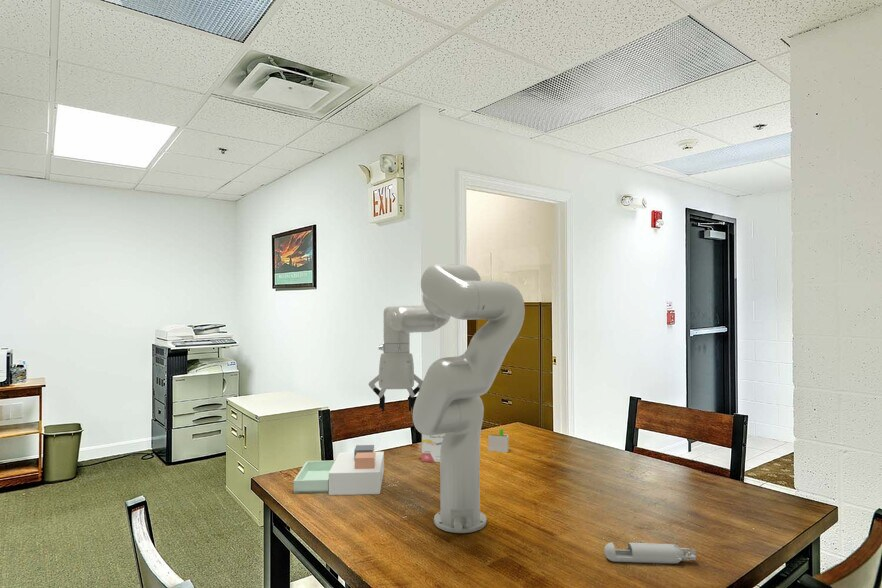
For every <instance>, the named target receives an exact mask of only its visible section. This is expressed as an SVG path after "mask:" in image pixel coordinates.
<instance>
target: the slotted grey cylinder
mask: <svg viewBox="0 0 882 588" xmlns="http://www.w3.org/2000/svg"><path fill="white" fill-rule="evenodd" d="M676 533H677V532H676V530H674V544H672V543H649V542H627V549H616V548H615V544H614V543H613V541H610V542H608V543H606V545H605V546H604V549H603V550H604V554H605V557H606V558H607V560H609V561H610V562H614V563H635V564H636V563H638V564H639V563H640V564H641V563H642V564H643V563H645V564H668V565H669V564H670V565H671V564H674V565H676V564H679V563H680V562H681V561H696V560H697V556H696V554H697V553H696V552H697V551H696V548H688V547H686V548H685V547H679V546H678V545H677V544H676ZM688 550H689V551H688Z"/></svg>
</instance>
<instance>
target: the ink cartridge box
mask: <svg viewBox="0 0 882 588" xmlns="http://www.w3.org/2000/svg"><path fill="white" fill-rule="evenodd" d="M444 436H445V433H444V434H439V435H431V436H429V435H424V434H421V462H422V463H423V462H425V463H426V462H427V463H428V462H429V463H430V462H431V463H440V449H441V444H442V440H443V438H444Z"/></svg>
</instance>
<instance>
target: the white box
mask: <svg viewBox="0 0 882 588" xmlns="http://www.w3.org/2000/svg"><path fill="white" fill-rule="evenodd" d="M375 452H376V463H375V468H374V469H355V460H354V451H349V452H348V451H345V452H344V451H341V452H338V454H337V456H336V458H335V459H334V460H335V462H334V464H333V466H332V468H331V470H330V472H329V492H328V496H345V495H346V496H347V495H348V496H350V495H351V496H352V495H354V496H355V495H356V496H358V495H380V494H381V489H382V483H383V478H384V473H385V472H384V471H385V451H375Z"/></svg>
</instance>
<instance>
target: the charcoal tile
mask: <svg viewBox="0 0 882 588" xmlns="http://www.w3.org/2000/svg"><path fill="white" fill-rule="evenodd" d="M353 452H354V460H355V456H356V454H357V453H366V452H375V444H363V445H362V444H360V445H359V444H358V445H357V444H356V445H355V448H354V451H353Z"/></svg>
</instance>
